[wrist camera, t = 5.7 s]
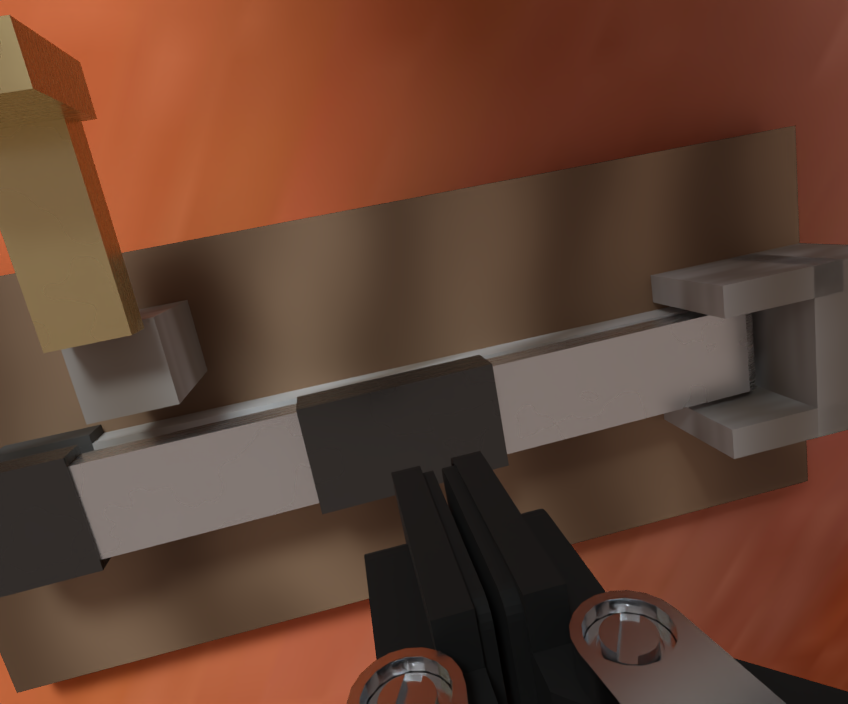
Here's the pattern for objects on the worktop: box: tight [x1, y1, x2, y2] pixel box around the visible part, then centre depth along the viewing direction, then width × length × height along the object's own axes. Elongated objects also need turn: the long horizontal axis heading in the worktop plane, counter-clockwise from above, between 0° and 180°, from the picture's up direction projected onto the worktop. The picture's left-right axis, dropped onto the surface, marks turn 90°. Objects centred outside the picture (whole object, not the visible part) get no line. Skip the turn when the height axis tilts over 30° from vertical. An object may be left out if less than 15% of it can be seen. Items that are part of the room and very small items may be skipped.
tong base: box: [0, 126, 848, 693], centre depth 20 cm, size 31×14×6 cm, turn 101°
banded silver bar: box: [0, 311, 756, 597], centre depth 18 cm, size 26×4×1 cm, turn 101°
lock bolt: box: [0, 15, 144, 353], centre depth 12 cm, size 6×3×4 cm, turn 11°
